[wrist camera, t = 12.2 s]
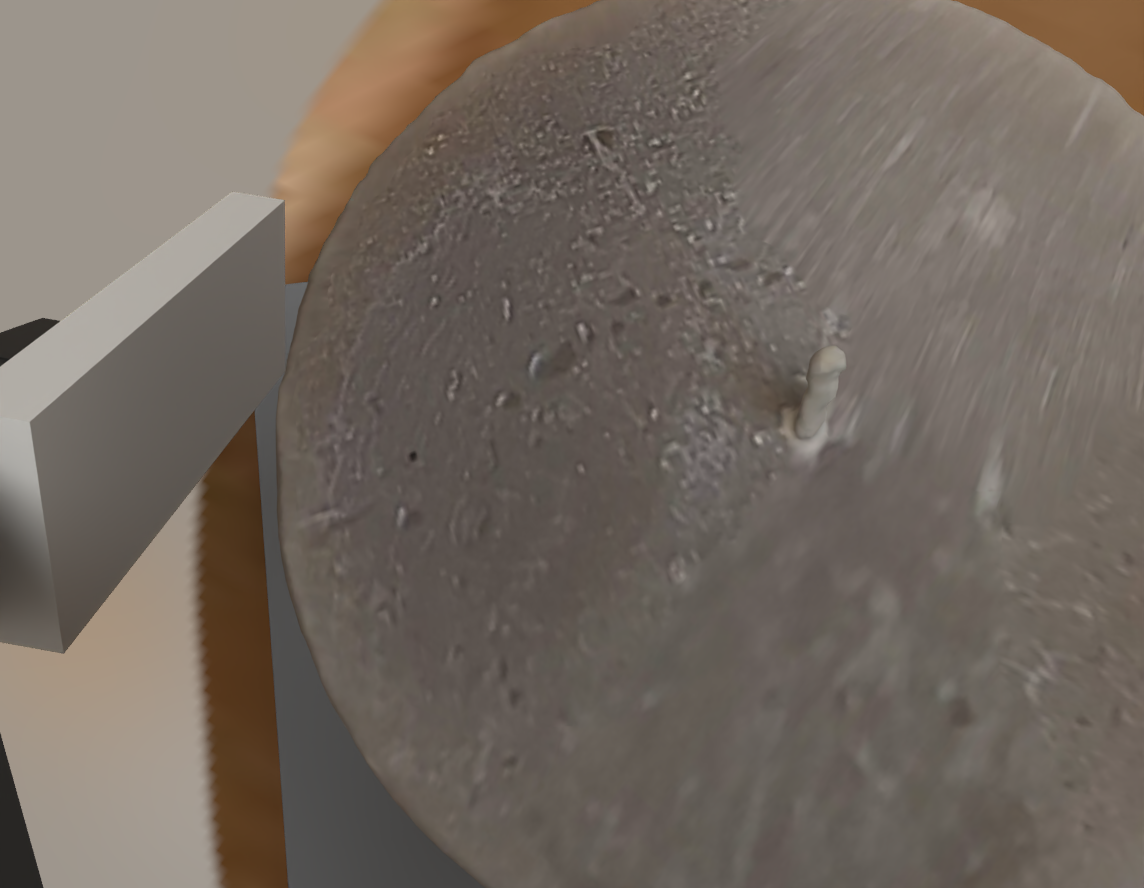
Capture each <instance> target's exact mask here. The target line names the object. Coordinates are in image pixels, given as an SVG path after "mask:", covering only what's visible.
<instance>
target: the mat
mask: <svg viewBox="0 0 1144 888" xmlns="http://www.w3.org/2000/svg"><path fill="white" fill-rule="evenodd" d="M307 284H308V282H303V283H295V284H287V285H285V370H286V365H287V359H288V354H289V350H290V346H291V342H292V339H293V334H294V328H295V325H296V320H297V314H298V309H299V306H300V304H301V301H302V298H303V295H304V293H305V290H306V287H307ZM284 374H285V372H284V373H283V374H282V376H281V377H280V378H279V379H278V381H277V382H276V383H275V384H274V386H273V387H272V388H271V390H270V391H269V392H268V393H267V395H266V396H265V397H264V399H263V400H262V401H261V402H260V404H259V405H258V406H257V407H256V409H255V422H256V436H257V450H258V464H259V478H260V492H261V507H262V521H263V535H264V549H265V563H266V577H267V591H268V606H269V620H270V634H271V648H272V662H273V676H274V690H275V705H276V719H277V733H278V747H279V761H280V775H281V790H282V804H283V818H284V832H285V846H286V860H287V874H288V888H485V887H484V886H482V885H481V884H480V883H479V882H477V881H476V880H475V879H474V878H473V877H472V876H471V875H469V874H468V873H467V872H466V871H465V870H464V869H462V868H461V867H460V866H459V865H458V864H457V863H455V862H454V861H453V860H452V859H451V858H450V857H448V856H447V855H446V854H444V853H443V852H442V851H441V850H440V849H439V848H438V847H437V846H436V845H435V844H434V843H433V842H432V841H431V840H430V839H429V838H428V837H427V836H426V835H425V834H424V833H423V832H422V831H421V830H420V829H419V828H418V827H417V826H416V825H415V823H414V822H413V821H412V820H411V818H410V817H409V816H408V815H407V814H406V813H405V812H404V811H403V810H402V809H401V807H400V806H399V805H398V804H397V803H396V802H395V801H394V800H393V799H392V797H391V796H390V794H389V793H388V792H387V790H386V789H385V788H384V786H383V785H382V784H381V782H380V781H379V780H378V778H377V777H376V775H375V774H374V773H373V771H372V770H371V768H370V767H369V766H368V764H367V762H366V761H365V759H364V757H363V756H362V754H361V753H360V751H359V749H358V748H357V746H356V744H355V743H354V741H353V739H352V737H351V735H350V733H349V732H348V730H347V728H346V727H345V725H344V723H343V722H342V720H341V719H340V717H339V715H338V714H337V712H336V711H335V709H334V707H333V706H332V704H331V702H330V700H329V698H328V696H327V694H326V691H325V689H324V687H323V685H322V683H321V680H320V677H319V675H318V672H317V669H316V667H315V664H314V662H313V660H312V656H311V653H310V650H309V648H308V646H307V643H306V641H305V638H304V636H303V635H302V633H301V630H300V627H299V623H298V620H297V617H296V613H295V610H294V607H293V604H292V601H291V598H290V594H289V590H288V587H287V583H286V579H285V573H284V569H283V564H282V558H281V551H280V543H279V538H278V521H277V473H276V411H277V402H278V390H279V386H280V384H281V381H282V379H283V376H284Z"/></svg>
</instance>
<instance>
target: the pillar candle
mask: <svg viewBox="0 0 1144 888" xmlns="http://www.w3.org/2000/svg"><path fill="white" fill-rule="evenodd" d="M276 473H277V521H278V538H279V543H280V551H281V558H282V564H283V569H284V573H285V579H286V583H287V587H288V590H289V594H290V598H291V601H292V604H293V607H294V610H295V613H296V617H297V620H298V623H299V627H300V630H301V633H302V635H303V636H304V638H305V641H306V643H307V646H308V648H309V650H310V653H311V656H312V660H313V662H314V664H315V667H316V669H317V672H318V675H319V677H320V680H321V683H322V685H323V687H324V689H325V691H326V694H327V696H328V698H329V700H330V702H331V704H332V706H333V707H334V709H335V711H336V712H337V714H338V715H339V717H340V719H341V720H342V722H343V723H344V725H345V727H346V728H347V730H348V732H349V733H350V735H351V737H352V739H353V741H354V743H355V744H356V746H357V748H358V749H359V751H360V753H361V754H362V756H363V757H364V759H365V761H366V762H367V764H368V766H369V767H370V768H371V770H372V771H373V773H374V774H375V775H376V777H377V778H378V780H379V781H380V782H381V784H382V785H383V786H384V788H385V789H386V790H387V792H388V793H389V794H390V796H391V797H392V799H393V800H394V801H395V802H396V803H397V804H398V805H399V806H400V807H401V809H402V810H403V811H404V812H405V813H406V814H407V815H408V816H409V817H410V818H411V820H412V821H413V822H414V823H415V825H416V826H417V827H418V828H419V829H420V830H421V831H422V832H423V833H424V834H425V835H426V836H427V837H428V838H429V839H430V840H431V841H432V842H433V843H434V844H435V845H436V846H437V847H438V848H439V849H440V850H441V851H442V852H443V853H444V854H446V855H447V856H448V857H450V858H451V859H452V860H453V861H454V862H455V863H457V864H458V865H459V866H460V867H461V868H462V869H464V870H465V871H466V872H467V873H468V874H469V875H471V876H472V877H473V878H474V879H475V880H476V881H477V882H479V883H480V884H481V885H482V886H484V887H485V888H1144V116H1143V115H1141V114H1140V113H1138V112H1136V111H1134V110H1133V109H1132V108H1131V107H1130V106H1129V105H1128V104H1127V102H1126V101H1125V100H1124V99H1123V97H1122V96H1121V95H1120V94H1119V93H1118V92H1117V91H1116V90H1115V89H1114V88H1113V87H1111V86H1110V85H1108V84H1107V83H1106V82H1104V81H1103V80H1102V79H1099V78H1096V77H1093V76H1092V75H1090V74H1088V73H1087V72H1085V71H1084V69H1083V68H1082V67H1081V66H1079V65H1078V64H1077V63H1075V62H1074V61H1073V60H1072V59H1070V58H1068V57H1066V56H1064V55H1063V54H1061V53H1060V52H1057V51H1055V50H1053V49H1052V48H1051V47H1050V46H1048V45H1046V44H1044V43H1042V42H1040V41H1039V40H1037V39H1035V38H1033V37H1031V36H1028V35H1026V34H1024V33H1023V32H1021V31H1020V30H1018V29H1017V28H1015V27H1013V26H1012V25H1010V24H1009V23H1008V22H1005V21H1003V20H1000V19H998V18H996V17H994V16H991V15H989V14H986V13H984V12H982V11H980V10H978V9H976V8H973V7H969V6H966V5H964V4H962V3H960V2H957V1H951V0H600V1H596V2H595V3H593V4H591V5H589V6H587V7H584V8H580V9H578V10H576V11H573V12H571V13H567V14H564V15H561V16H558V17H555V18H552V19H550V20H548V21H546V22H544V23H541V24H540V25H538V26H536V27H534V28H533V29H531V30H530V31H528V32H526V33H525V34H523V35H522V36H521V37H520V38H519V39H517V40H515V41H513V42H511V43H509V44H507V45H505V46H503V47H501V48H498V49H496V50H493V51H491V52H489V53H487V54H485V55H484V56H481V57H479V58H477V59H475V60H474V61H473V62H472V63H471V65H470V66H469V67H468V68H467V69H466V71H465V72H464V73H463V75H462V76H461V77H460V78H459V79H457V80H456V81H455V82H454V83H452V84H451V85H450V86H448V87H447V88H446V89H445V90H443V91H442V92H441V93H440V94H439V95H437V96H436V97H435V99H434V100H433V101H432V102H431V103H430V104H429V105H428V106H427V107H426V108H425V109H424V110H423V111H422V113H421V114H420V115H419V116H418V117H417V119H416V120H414V121H413V122H412V123H410V124H409V125H408V126H407V127H406V129H405V130H404V131H403V132H402V133H401V134H400V135H399V136H398V137H396V138H395V139H394V140H393V142H392V143H391V144H390V145H389V146H388V148H387V149H386V150H385V151H384V152H383V153H382V154H381V155H380V156H378V157H377V158H376V159H375V161H374V162H373V163H372V164H371V166H370V168H369V171H368V174H367V175H366V177H365V178H364V179H363V180H362V181H360V182H359V184H358V185H357V187H356V188H355V189H354V192H353V194H352V196H351V198H350V200H349V201H348V203H347V205H346V207H345V209H344V211H343V212H342V214H341V215H340V216H339V217H338V219H337V222H336V224H335V226H334V228H333V230H332V231H331V233H330V235H329V236H328V238H327V239H326V241H325V243H324V245H323V247H322V249H321V252H320V254H319V257H318V259H317V261H316V263H315V265H314V267H313V269H312V270H311V272H310V274H309V278H308V284H307V287H306V290H305V293H304V295H303V298H302V301H301V304H300V306H299V309H298V314H297V320H296V325H295V328H294V334H293V339H292V342H291V346H290V350H289V354H288V359H287V365H286V370H285V374H284V376H283V379H282V381H281V384H280V386H279V390H278V402H277V411H276Z"/></svg>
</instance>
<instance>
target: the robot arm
mask: <svg viewBox="0 0 1144 888" xmlns="http://www.w3.org/2000/svg"><path fill="white" fill-rule="evenodd" d="M284 372H285V200H280V199H274V198H268V197H262V196H256V195H250V194H244V193H239V192H231V193H230V194H229V195H227V196H226V197H225V198H223V199H222V200H221V201H219V202H218V203H217V204H215V205H214V206H213V207H211V208H210V209H209V210H207V211H206V212H205V213H203V214H202V215H201V216H199V217H198V218H197V219H195V220H194V221H193V222H191V223H190V224H189V225H188V226H186V227H185V228H183V229H182V230H181V231H179V232H178V233H177V234H176V235H174V236H173V237H172V238H170V239H169V240H168V241H166V242H165V243H164V244H162V245H161V246H160V247H158V248H157V249H156V250H154V251H153V252H152V253H150V254H149V255H148V256H146V257H145V258H144V259H142V260H141V261H140V262H138V263H137V264H136V265H134V266H133V267H132V268H130V269H129V270H128V271H127V272H125V273H124V274H123V275H121V276H120V277H119V278H117V279H116V280H115V281H113V282H112V283H111V284H109V285H108V286H107V287H105V288H104V289H103V290H101V291H100V292H99V293H97V294H96V295H95V296H93V297H92V298H91V299H89V300H88V301H87V302H85V303H84V304H83V305H81V306H80V307H79V308H77V309H76V310H75V311H73V312H72V313H71V314H70V315H68V316H67V317H65V318H64V319H63V320H62V321H57V320H51V319H45V318H41V319H38V320H35V321H33V322H30V323H27V324H24V325H21V326H18V327H15V328H12V329H10V330H7V331H4V332H1V333H0V642H3V643H8V644H13V645H19V646H25V647H31V648H36V649H41V650H47V651H52V652H58V653H65V651H66V650H67V649H68V647H69V646H70V645H71V644H72V642H73V641H74V640H75V639H76V637H77V636H78V635H79V633H80V632H81V631H82V629H83V628H84V627H85V626H86V624H87V623H88V622H89V621H90V619H91V618H92V617H93V616H94V614H95V613H96V612H97V610H98V609H99V608H100V607H101V605H102V604H103V603H104V602H105V600H106V599H107V598H108V596H109V595H110V594H111V593H112V591H113V590H114V589H115V587H116V586H117V585H118V584H119V582H120V581H121V580H122V578H123V577H124V576H125V575H126V573H127V572H128V571H129V570H130V568H131V567H132V566H133V564H134V563H135V562H136V561H137V559H138V558H139V557H140V556H141V554H142V553H143V552H144V550H145V549H146V548H147V547H148V545H149V544H150V543H151V541H152V540H153V539H154V538H155V536H156V535H157V534H158V533H159V531H160V530H161V529H162V527H163V526H164V525H165V523H166V522H167V521H168V520H169V519H170V517H171V516H172V515H173V513H174V512H175V511H176V510H177V508H178V507H179V506H180V504H181V503H182V502H183V501H184V499H185V498H186V497H187V495H188V494H189V493H190V492H191V490H192V489H193V488H194V487H195V485H196V484H197V483H198V482H199V480H200V479H201V478H202V476H203V475H204V474H205V473H206V471H207V470H208V469H209V467H210V466H211V465H212V464H213V462H214V461H215V460H216V459H217V457H218V456H219V455H220V453H221V452H222V451H223V450H224V448H225V447H226V446H227V444H228V443H229V442H230V441H231V439H232V438H233V437H234V436H235V434H236V433H237V432H238V430H239V429H240V428H241V427H242V425H243V424H244V423H245V422H246V420H247V419H248V418H249V416H250V415H251V414H252V413H253V411H254V410H255V409H256V407H257V406H258V405H259V404H260V402H261V401H262V400H263V399H264V397H265V396H266V395H267V393H268V392H269V391H270V390H271V388H272V387H273V386H274V384H275V383H276V382H277V381H278V379H279V378H280V377H281V376H282V374H283V373H284ZM0 888H43V885H42V881H41V878H40V874H39V870H38V867H37V863H36V860H35V856H34V852H33V849H32V845H31V842H30V838H29V835H28V831H27V828H26V824H25V820H24V817H23V813H22V809H21V806H20V802H19V799H18V795H17V792H16V788H15V784H14V781H13V777H12V774H11V770H10V766H9V763H8V760H7V756H6V752H5V749H4V745H3V741H2V738H1V734H0Z"/></svg>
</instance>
